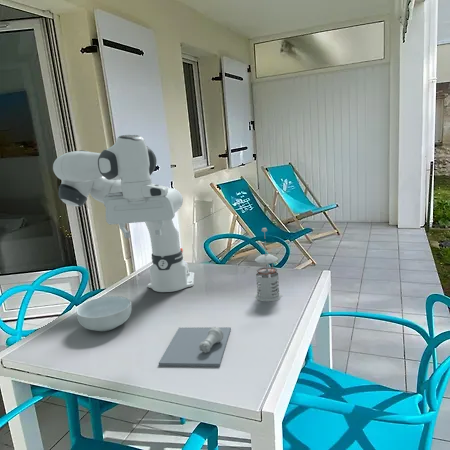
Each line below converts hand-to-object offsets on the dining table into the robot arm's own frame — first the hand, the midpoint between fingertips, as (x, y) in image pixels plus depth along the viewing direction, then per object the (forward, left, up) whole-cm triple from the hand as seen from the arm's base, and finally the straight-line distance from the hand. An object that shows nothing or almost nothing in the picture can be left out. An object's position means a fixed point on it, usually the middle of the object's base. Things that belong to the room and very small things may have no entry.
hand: (143, 236), depth 123 cm
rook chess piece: (+11, +23, -26) cm, 36 cm away
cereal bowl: (0, -16, -29) cm, 33 cm away
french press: (-24, +35, -29) cm, 52 cm away
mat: (+13, +17, -29) cm, 36 cm away
